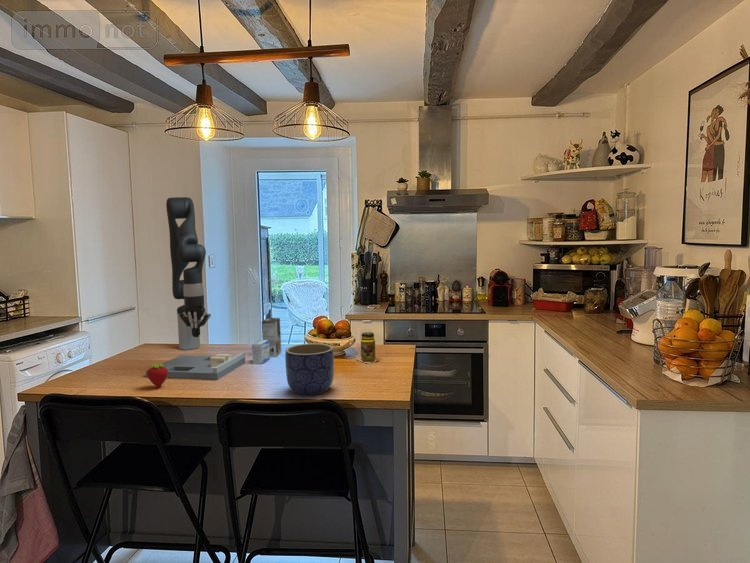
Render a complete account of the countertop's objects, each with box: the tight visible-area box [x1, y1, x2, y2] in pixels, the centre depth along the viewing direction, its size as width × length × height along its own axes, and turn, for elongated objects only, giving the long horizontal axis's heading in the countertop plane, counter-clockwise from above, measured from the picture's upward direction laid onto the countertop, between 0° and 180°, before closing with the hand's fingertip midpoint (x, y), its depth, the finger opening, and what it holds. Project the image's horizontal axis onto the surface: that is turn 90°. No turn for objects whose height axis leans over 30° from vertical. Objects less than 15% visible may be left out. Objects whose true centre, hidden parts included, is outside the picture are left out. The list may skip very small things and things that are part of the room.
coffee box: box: [261, 317, 282, 358], centre depth 219 cm, size 9×6×16 cm
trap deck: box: [144, 352, 246, 381], centre depth 197 cm, size 24×30×4 cm
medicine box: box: [251, 339, 271, 365], centre depth 208 cm, size 8×4×9 cm, turn 168°
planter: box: [284, 342, 335, 395], centre depth 168 cm, size 17×17×15 cm
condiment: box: [360, 332, 376, 363], centre depth 206 cm, size 7×8×12 cm
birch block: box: [210, 353, 232, 367], centre depth 195 cm, size 6×6×4 cm
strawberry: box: [147, 360, 168, 388], centre depth 175 cm, size 6×8×10 cm
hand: (196, 336), depth 196 cm, fingers closed
